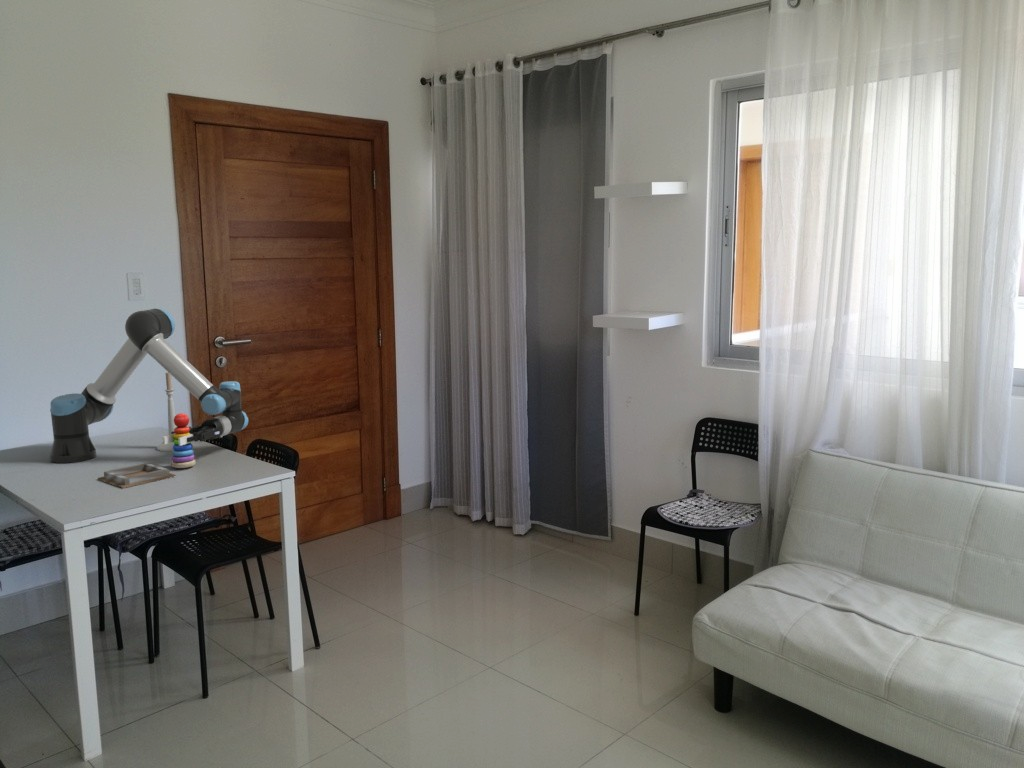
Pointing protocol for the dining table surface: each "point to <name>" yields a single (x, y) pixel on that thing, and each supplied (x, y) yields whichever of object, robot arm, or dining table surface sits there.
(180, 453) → the stacking toy
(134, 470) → the plate
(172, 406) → the candlestick
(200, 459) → the dining table surface
